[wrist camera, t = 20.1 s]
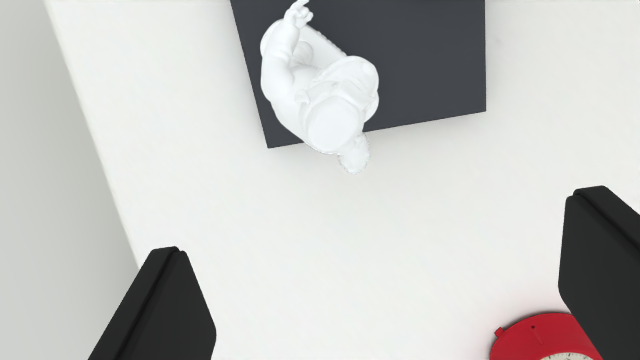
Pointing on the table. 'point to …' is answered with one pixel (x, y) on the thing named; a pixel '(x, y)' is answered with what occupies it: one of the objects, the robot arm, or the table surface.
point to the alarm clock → (544, 340)
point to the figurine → (318, 88)
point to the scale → (385, 55)
